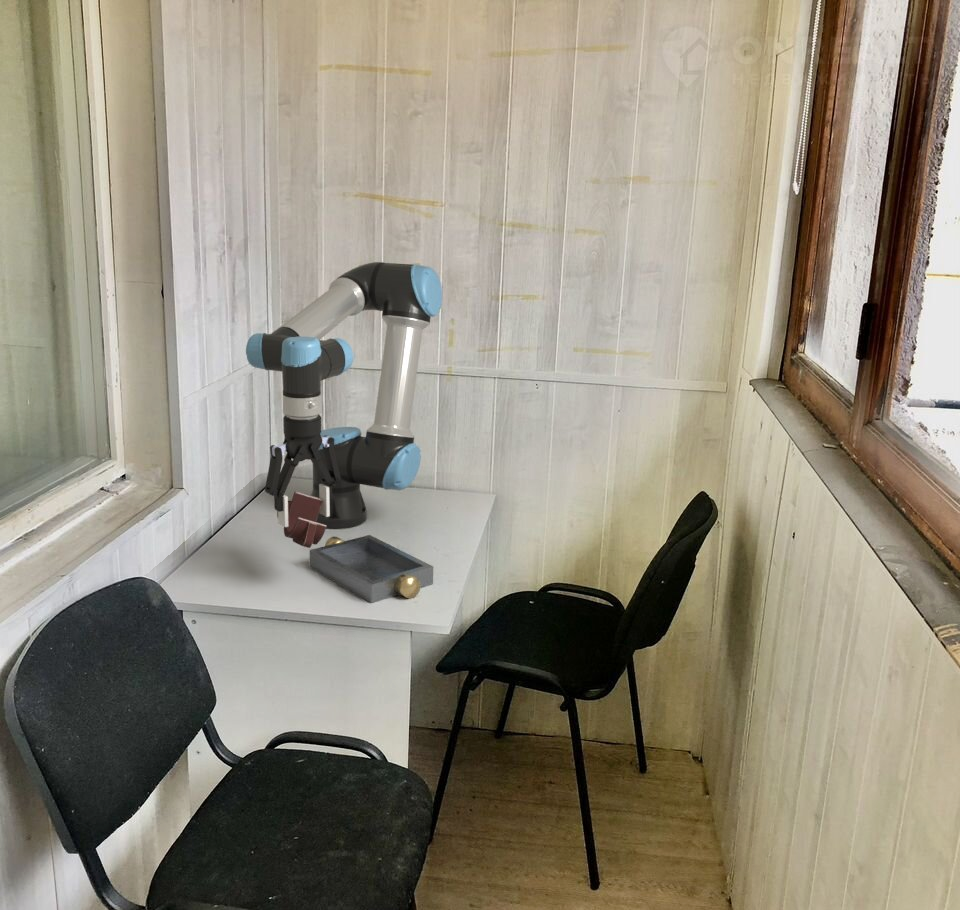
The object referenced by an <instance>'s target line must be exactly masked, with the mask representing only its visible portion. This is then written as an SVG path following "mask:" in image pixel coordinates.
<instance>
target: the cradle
mask: <svg viewBox="0 0 960 910" xmlns="http://www.w3.org/2000/svg"><path fill="white" fill-rule="evenodd" d="M309 568H310V569H312V570H314V571H316V572H317V573H319V574H321V575H323V576H324V577H326V578H328V579H329V580H331V581H332V582H335V583H336V584H338V585H339V586H341V587H344V589H346V590H348V591H350V592H352V593H354V594H355V595H357V596H358V597H360V598H362V599H364V600H365V601H367V602H369V603H371V604H373V603H376V602H380V601H383V600H387V599H389V598H392V597H396V596H399V595H400V596H402V597H404V598H406V599H408V600H409V599H414V598H415V597H417V596H418V595H419V593H420V591H421V588H424V587H425V588H426V587H428V586H431V585H433V584H434V566H433V565H431V564H429V563H427V562H425V561H423V560H421V559H419V558H417V557H416V556H413V555H411V554H409V553H407V552H406V551H404V550H401V549H399V548H397V547H395V546H393V545H391V544H389V543H387V542H385V541H382V540H381V539H379V538H377V537H375V536H373V535H371V534H368V535H364V536H360V537H356V538H355V537H354V538H352V539H346V540H344V539H342V538H340V537H338V536H331V537H329V538H328V539H327V540H326V542H325V544H324V546H320V547H316V548H313V549H309Z"/></svg>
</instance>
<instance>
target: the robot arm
mask: <svg viewBox="0 0 960 910" xmlns="http://www.w3.org/2000/svg"><path fill="white" fill-rule="evenodd" d="M442 305H443V287H442V283H441V280H440V276H439V275H438V272H436V271H435V269H434V268H432V267H430V266H426V265H421V264H420V265H419V264H416V263H414V264H411V263H410V264H407V263H392V262H382V261H380V262H379V261H375V262H369V263H365V264H362V265H361V264H360V265H358V266H357V267H353V268H351V269H350V270H348V271H347V272H344V273H343V274H341V275H340V276H338V277H337V278H335V279H334V280H333V281H332V282H331V283H330V285H329V287H328V290H327V291H325V292H324V293H323V294H321V295H320V296H319V297H318V298H316V299H315V300H314V301H312V302H311V303H310V304H308V305H307V306H306V307H304V308H303V309H302V310H300V311H299V312H297V313H296V314H295V315H294V316H292V317H291V318H289V319H288V320H287V321H286V322H284V323H283V324H282V325H280V326H279V327H278V328H277V329H275V330H273V331H272V332H270V333H267V332H261V333H259V332H258V333H254V334H252V335H251V336H250V337H249V339H248V340H247V343H246V346H245V354H246V360H247V362H248V364H249V365H250V366H251V367H254V368H256V369H262V370H265V371H274V372H281V374H282V375H281V377H282V413H283V414H284V416H283V418H282V419H283V434H284V440H283V442H282V444H279V445H274V444H271V445H270V447H269V449H270V450H269V451H270V460H269V466H268V469H267V470H268V471H267V476H266V482H265V486H264V492H265V493H266V494H268V495H270V496H271V497H274V498H273V500H274V501H273V505H274V510H275V511H276V512H277V511H278V517H277V521H278V522H277V523H278V524H279V525H280V526H281V527H283V528H284V527H288V501H289V497H288V495H286V494H285V493H286V492H287V488H288V486H289V484H290V481H291V480H292V476H293V475H294V472H295V470H296V467H298V466H299V463H300V462H304V461H305V460H308V461H309V460H310V461H311V463H312V491H311V493H310V496H313V497H316V498H320V499H323V501H322V504H321V507H320V511H319V514H318V517H317V520H316V523H320V524H323V525H326V529H333V530H335V529H349V528H353V527H357V526H360V525H362V524H364V523H365V522H366V521H367V519H368V516H367V514H368V513H367V512H368V511H367V510H368V509H367V507H366V503H365V501H364V497H363V495H362V492H361V485H362V486H368V487H374V488H380V489H384V490H393V491H394V490H395V491H403V490H405V489H407V488H409V487H410V485H411V484H412V483H413V482H414V480H415V478H416V477H417V475H418V472H419V468H420V465H421V460H422V455H421V449H420V446H418V445H417V444H416V443H414V440H415V435H414V434H413V432H412V431H411V429H410V425H411V416H412V410H413V403H414V396H415V388H416V382H417V381H416V380H417V373H418V365H419V359H420V351H421V343H422V336H423V331H424V330H425V329H426V328H427V327H429V326H430V325H431V324H430V323H431V318H433V317H435V316H438V315H439V313H440V310H441V308H442ZM364 311H378V312H379V311H380V312H382V313H381V318H382V320H383V321H384V322H385V324H386V330H385V331H386V332H385V338H384V347H383V352H382V353H383V354H382V361H381V369H380V376H379V384H378V392H377V398H376V405H375V406H376V407H375V413H374V421H373V424H372V425H370V427H369V428H367V429H366V433H365V436H362V431H361V429H360V428H358V427H355V426H341V427H340V426H339V427H331V428H326V429H323V430H322V416H321V415H320V414H321V413H322V395H321V394H322V389H321V388H322V387H321V386H322V381H324V380H327V379H330V378H333V377H338V376H340V375H342V374H344V373H345V372H347V371H349V369H351V367H352V365H353V362H354V351H353V349H352V347H351V345H350V344H349V343H348V342H347V341H346V340H344V339H342V338H338V337H337V338H328V339H326V340H323V338H324V337H325V336H327V334H328V333H330V332H331V331H332V330H333V329H335V328H336V327H337V326H339V325H340V323H342V322H343V321H345V320H346V319H347V318H348V317H354V316H356V315H358V314H360V313H361V312H364ZM285 452H286V454H285ZM283 456H284V458H283ZM283 459H284V460H283ZM283 461H284V462H283Z"/></svg>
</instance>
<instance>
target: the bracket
mask: <svg viewBox="0 0 960 910" xmlns="http://www.w3.org/2000/svg"><path fill="white" fill-rule="evenodd" d="M322 501H323V499H320V498H316V497H313V496H311V494H310V495H309V494H305V493H302V492H298V491H294V493H293V496H292V498H291V500H288V527H284V526H283V534H284V537H286V538H290V539H292V542H293V543H295V544H297V545H299V546H301V547H304V548H308V549H309V548H311V547H312V546H313V545H315V546H316V545H317V544H318V543H320V542H321V540H322V538H323V536H324V534H325V532H326V529H327V528H326V525H323V524H320V523H316V520H317V517H318V514H319V511H320V507H321V504H322ZM276 517H277V518H278V511H277V510H276Z"/></svg>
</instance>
